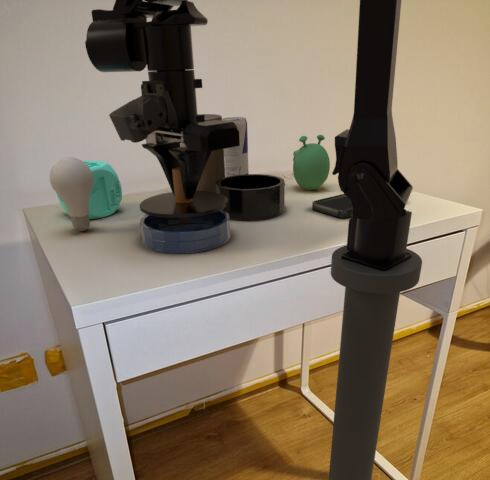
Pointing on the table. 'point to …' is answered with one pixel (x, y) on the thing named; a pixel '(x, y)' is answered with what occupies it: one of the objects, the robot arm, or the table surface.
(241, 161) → the energy drink
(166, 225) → the pan
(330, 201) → the phone
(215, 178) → the pillar candle
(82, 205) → the lightbulb
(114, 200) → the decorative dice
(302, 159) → the alien toy
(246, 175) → the tin
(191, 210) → the lid
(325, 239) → the table surface
